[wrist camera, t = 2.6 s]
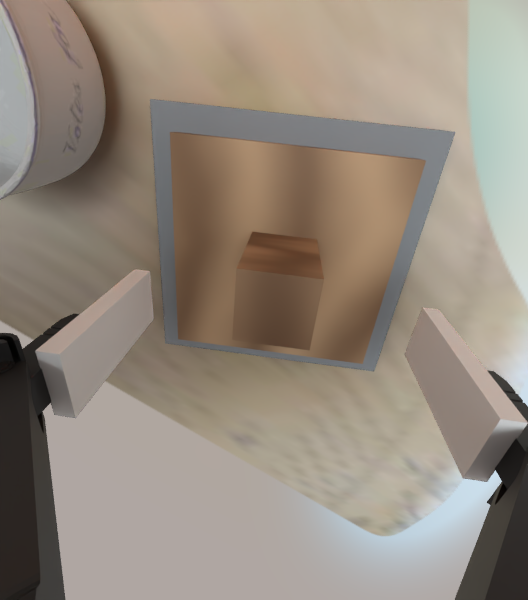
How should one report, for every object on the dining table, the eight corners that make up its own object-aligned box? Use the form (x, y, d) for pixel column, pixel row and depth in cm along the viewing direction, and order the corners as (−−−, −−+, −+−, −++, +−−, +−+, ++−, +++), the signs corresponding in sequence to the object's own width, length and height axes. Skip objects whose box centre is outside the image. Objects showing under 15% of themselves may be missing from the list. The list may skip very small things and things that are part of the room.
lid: (183, 330, 25) (144, 397, 19) (176, 131, 19) (115, 132, 12) (359, 353, 25) (381, 430, 18) (418, 158, 18) (484, 174, 12)
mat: (168, 339, 27) (165, 343, 26) (154, 99, 18) (149, 98, 18) (372, 366, 26) (374, 371, 25) (450, 131, 18) (455, 132, 17)
